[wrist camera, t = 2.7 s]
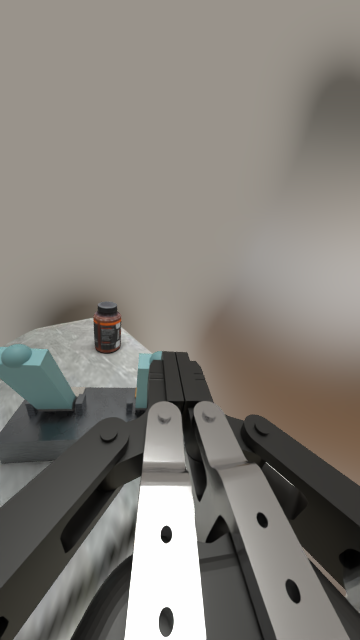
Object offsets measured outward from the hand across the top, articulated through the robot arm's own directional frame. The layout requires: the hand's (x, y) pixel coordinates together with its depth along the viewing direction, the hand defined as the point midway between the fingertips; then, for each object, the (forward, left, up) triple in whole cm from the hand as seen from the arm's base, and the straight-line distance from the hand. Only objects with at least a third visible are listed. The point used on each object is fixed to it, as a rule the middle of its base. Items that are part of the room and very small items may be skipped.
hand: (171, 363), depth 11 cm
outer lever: (0, +10, -15) cm, 18 cm away
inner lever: (-12, +10, -15) cm, 22 cm away
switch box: (-6, +10, -21) cm, 24 cm away
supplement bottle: (-10, +31, -21) cm, 39 cm away
